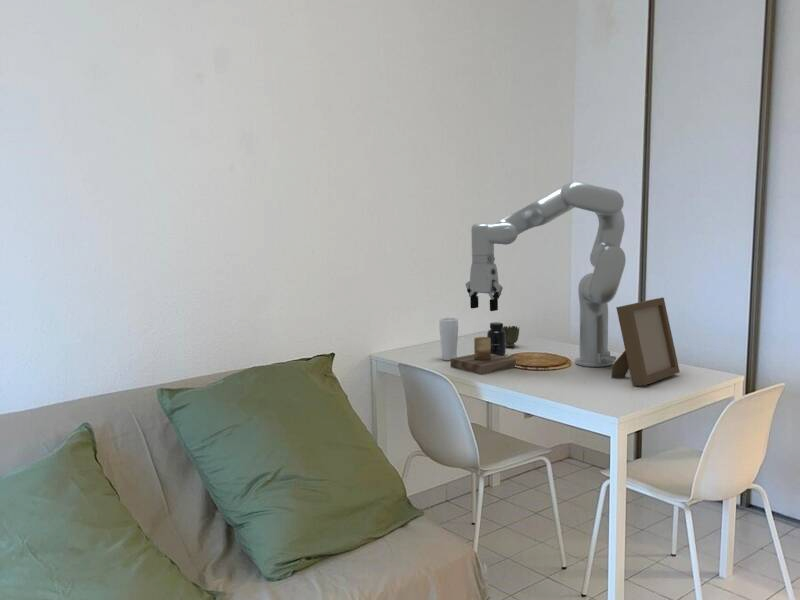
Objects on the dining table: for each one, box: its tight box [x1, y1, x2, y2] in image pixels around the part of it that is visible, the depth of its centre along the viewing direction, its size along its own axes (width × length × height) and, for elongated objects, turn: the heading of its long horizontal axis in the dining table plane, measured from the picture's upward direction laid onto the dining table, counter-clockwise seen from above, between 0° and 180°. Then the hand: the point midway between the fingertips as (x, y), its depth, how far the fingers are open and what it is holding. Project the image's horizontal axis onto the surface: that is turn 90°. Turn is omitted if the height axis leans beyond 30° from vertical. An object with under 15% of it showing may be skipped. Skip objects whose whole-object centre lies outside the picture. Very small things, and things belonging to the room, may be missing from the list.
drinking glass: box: [439, 317, 459, 361], centre depth 277 cm, size 7×7×15 cm
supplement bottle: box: [486, 321, 507, 357], centre depth 283 cm, size 7×7×12 cm
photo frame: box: [611, 297, 681, 387], centre depth 241 cm, size 15×22×25 cm
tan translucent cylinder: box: [473, 336, 491, 361], centre depth 263 cm, size 6×6×10 cm
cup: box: [502, 325, 520, 349], centre depth 298 cm, size 8×7×8 cm
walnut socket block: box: [449, 353, 517, 376], centre depth 264 cm, size 16×16×3 cm
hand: (484, 309), depth 262 cm, fingers open, 9 cm apart
